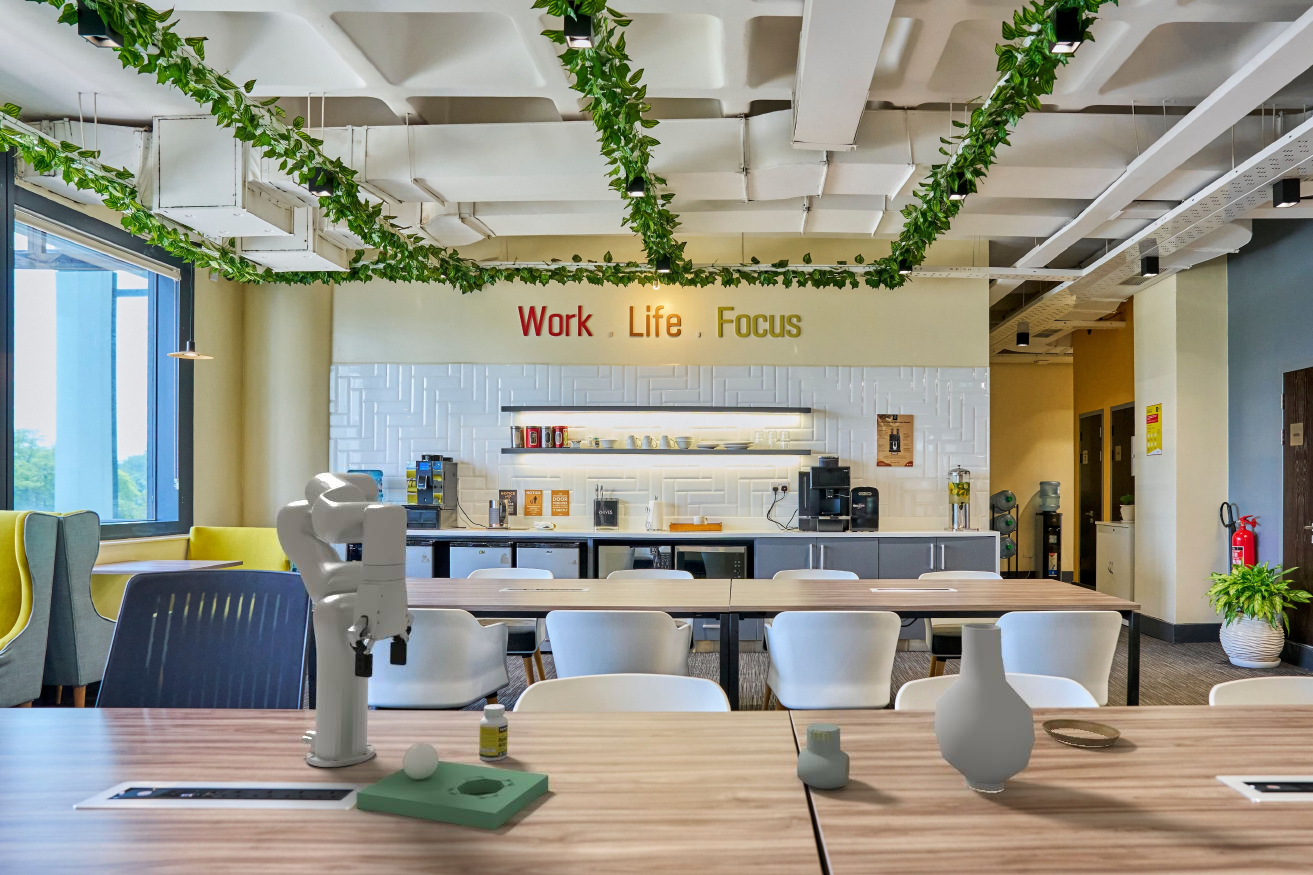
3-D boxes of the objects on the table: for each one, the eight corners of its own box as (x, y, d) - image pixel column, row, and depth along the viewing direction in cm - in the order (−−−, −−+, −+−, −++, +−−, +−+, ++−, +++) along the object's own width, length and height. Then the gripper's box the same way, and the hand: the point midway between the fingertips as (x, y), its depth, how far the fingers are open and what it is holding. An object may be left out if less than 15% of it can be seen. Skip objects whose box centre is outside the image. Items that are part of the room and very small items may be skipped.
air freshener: (805, 771, 155) (805, 716, 155) (851, 776, 152) (850, 720, 153) (795, 791, 144) (794, 733, 145) (843, 797, 142) (842, 737, 142)
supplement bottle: (501, 762, 159) (501, 710, 160) (474, 760, 160) (475, 709, 161) (511, 753, 165) (512, 703, 165) (485, 751, 166) (486, 702, 166)
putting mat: (356, 807, 137) (356, 792, 137) (421, 772, 154) (422, 758, 154) (495, 829, 128) (495, 812, 128) (548, 789, 145) (548, 774, 145)
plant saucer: (1037, 744, 172) (1036, 731, 172) (1046, 726, 184) (1046, 714, 184) (1118, 756, 164) (1118, 742, 164) (1122, 737, 176) (1122, 725, 177)
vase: (1039, 779, 150) (1035, 623, 152) (1032, 811, 136) (1028, 637, 137) (943, 765, 158) (940, 616, 160) (927, 793, 144) (924, 629, 145)
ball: (394, 782, 142) (395, 746, 142) (416, 770, 147) (416, 736, 148) (424, 786, 140) (425, 750, 140) (445, 774, 145) (445, 739, 146)
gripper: (395, 567, 158) (393, 658, 157) (333, 578, 142) (330, 679, 141) (429, 569, 156) (427, 662, 155) (370, 580, 139) (367, 683, 138)
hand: (381, 670), depth 148 cm, fingers open, 9 cm apart
